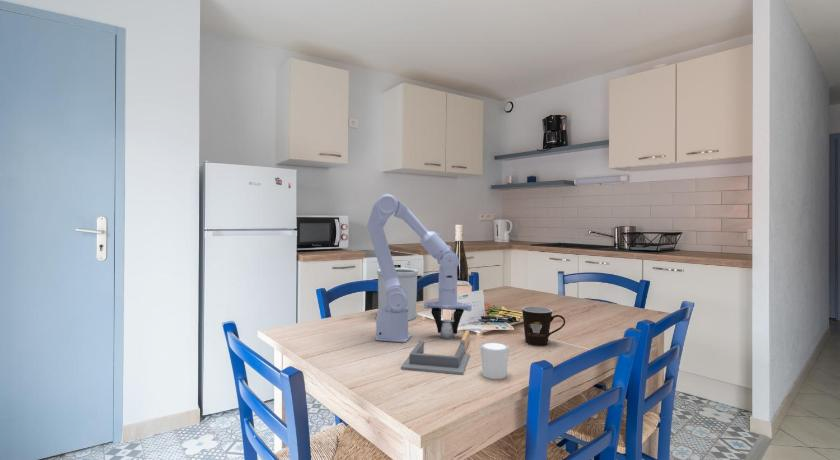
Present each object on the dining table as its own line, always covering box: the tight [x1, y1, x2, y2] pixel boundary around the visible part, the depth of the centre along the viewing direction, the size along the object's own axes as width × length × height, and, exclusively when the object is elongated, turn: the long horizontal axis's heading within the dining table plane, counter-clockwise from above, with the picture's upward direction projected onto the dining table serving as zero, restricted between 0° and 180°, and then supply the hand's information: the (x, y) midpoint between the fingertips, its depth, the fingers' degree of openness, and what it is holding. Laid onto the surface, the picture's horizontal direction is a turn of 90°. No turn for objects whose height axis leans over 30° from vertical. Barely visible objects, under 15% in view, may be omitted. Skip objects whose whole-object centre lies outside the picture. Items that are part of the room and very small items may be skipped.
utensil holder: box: [376, 267, 419, 321], centre depth 160 cm, size 15×15×18 cm
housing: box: [400, 340, 471, 375], centre depth 113 cm, size 15×14×3 cm
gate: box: [459, 329, 470, 354], centre depth 124 cm, size 12×1×4 cm, turn 167°
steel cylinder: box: [439, 319, 456, 340], centre depth 135 cm, size 4×4×5 cm
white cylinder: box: [480, 341, 510, 380], centre depth 104 cm, size 7×7×7 cm
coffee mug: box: [521, 305, 566, 347], centre depth 129 cm, size 12×9×10 cm
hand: (447, 332), depth 135 cm, fingers closed on steel cylinder, 4 cm apart
